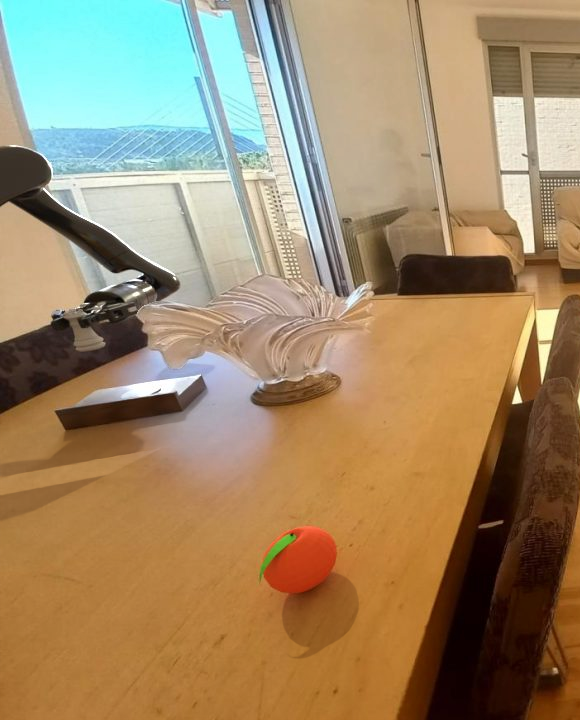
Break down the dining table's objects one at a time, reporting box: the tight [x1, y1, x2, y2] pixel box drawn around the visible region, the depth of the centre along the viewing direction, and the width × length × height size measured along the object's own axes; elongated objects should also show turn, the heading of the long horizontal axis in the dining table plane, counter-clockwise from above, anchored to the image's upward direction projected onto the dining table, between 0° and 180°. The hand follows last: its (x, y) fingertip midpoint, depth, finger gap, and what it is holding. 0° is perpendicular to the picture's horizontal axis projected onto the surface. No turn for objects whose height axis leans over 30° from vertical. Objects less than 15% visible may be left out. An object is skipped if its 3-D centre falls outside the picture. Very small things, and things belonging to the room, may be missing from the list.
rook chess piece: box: [64, 309, 107, 353], centre depth 96 cm, size 4×4×8 cm
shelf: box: [54, 374, 208, 431], centre depth 96 cm, size 18×12×4 cm, turn 111°
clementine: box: [258, 525, 338, 595], centre depth 52 cm, size 8×7×7 cm
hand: (69, 324), depth 93 cm, fingers closed on rook chess piece, 3 cm apart
